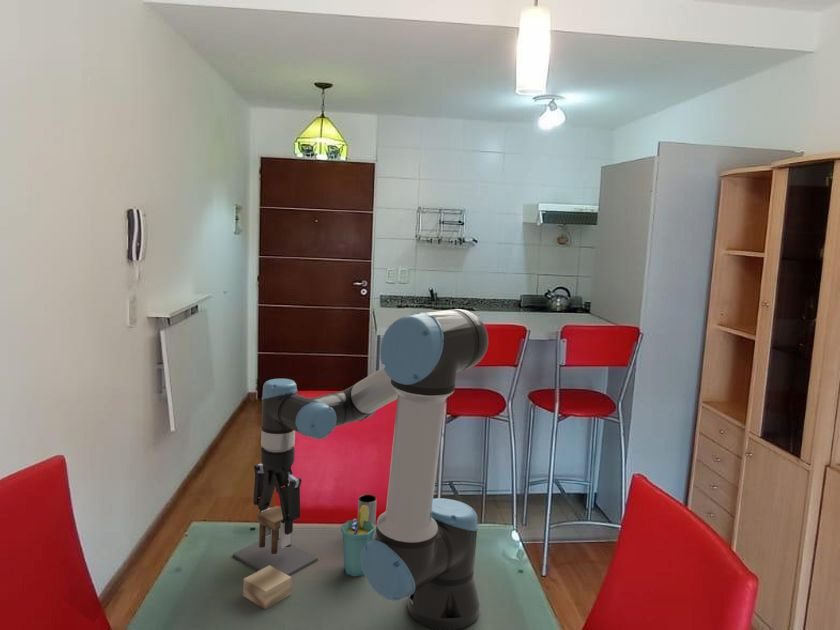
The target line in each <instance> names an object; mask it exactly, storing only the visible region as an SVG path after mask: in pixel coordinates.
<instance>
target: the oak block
mask: <svg viewBox="0 0 840 630" xmlns="http://www.w3.org/2000/svg"><path fill="white" fill-rule="evenodd" d="M242 590H243V591H242V592H243V593H242V594H243V595H242V596H243V597H244V598H246V599H248V600H249V601H251V602H253V603H254V604H255V605H257V606H259V607H261V608H262V609H264V610H267V609H268V608H271V607H272V606H274V605H275V604H277V603H279V602H281V601H283V600H284V599H286V598H287V597H289V596H291V595H292V576H291V575H290V576H288V575H287V574H285V573H283V572H281V571H279V570H277V569H276V568H274V567H272V566H270V565H269V566H267V567H265V568H263V569H261V570H257V571H256V572H253V573H252V574H250V575H248V576H246V577H244V578H243V589H242Z"/></svg>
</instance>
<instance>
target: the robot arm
mask: <svg viewBox="0 0 840 630" xmlns="http://www.w3.org/2000/svg"><path fill="white" fill-rule="evenodd" d="M488 347H489V334H488V331H487V328H486V326H485V324H484V322H483V321H482V320H481V318H479V317H478V316H477V315H475V314H474V313H473V312H472V311H471V312H470V311H468V310H466V309H461V308H454V309H452V308H451V309H447V310H439V311H438V310H437V311H429V312H414V313H412V314H409V315H406V316H405V315H404V316H402V317H399V318H397V319H396V320H394V321H393V322H392V323H390V325H389V326H388V328H387V329H386V331H385V332H384V335H383V337H382V339H381V343H380V350H379V353H380V354H379V355H380V361H381V364H382V365H384V366H382V367H380V369H378V370H376V371H375V372H373V373H371V374H369V375H368V376H366V377H364V378H363V379H361V380H359V381H358V382H356V383H355V384H353V385H352V386H350V387H347V388H346V389H344V390H341V391H337V392H333V393H329V394H328V393H327V394H325V395H320V396H315V397H306V396H303V395H300V394H298V388H297V383H296V381H295V380H293V379H290V378H273V379H269V380H266V381H265V382H264V383H263V386H262V396H261V435H260V437H261V438H260V445H261V448H260V463H258V464H256V465H254V466H253V471H254V484H253V485H254V486H253V499H252V501H253V505H255V506H257V508H258V510H259V513H261V512H263V511H266V510H268V509H270V508H271V506H272V503H271V501H272V498H273V495H274V492H275V491H276V493H277V494H278V497H279V504H280V505H279V506H280V507H281V510H282V516H283V520H281V521H280V529H279V538H280V548H283V547H285V546H287V545H289V544H292V533H293V531H294V528H293V527H294V522H295V521H296V520H297V521H298V520H299V519H300V518H301V485H302V482H303V481H302V478H301V477H297V478H296V477H295V476H294V475H293V474H294V473H293V470H292V466H293V464H294V462H295V449H296V448H295V447H294V446H295V445H296V444H295V443H296V441H295V440H296V432H297V433H299V434H302V436H304V437H308V438H312V439H315V440H324V439H325V438H327V437H329V435H330V434H331V433H332V432H333V431H334V430H335V428H337V427H341V426H343V425H348V424H350V423H355V422H362V421H363V420H366V419H368V418H370V417H372V416H373V415H375V413H376V411H377V410H379V409H381V408H383V407H385V406H387V405H388V404H391V403H392V402H394V401H396V400H397V401H396V410H395V419H394V428H393V430H394V431H393V439H392V449H391V457H390V458H391V459H390V467H389V468H390V469H389V478H388V488H387V495H386V496H387V497H386V505H385V506H386V508H385V511H384V512H382V513H381V514H380V515H379V516H378V517H377V520H376V524H375V537H374V538H373V539H372V540H370V541H369V542H367V544H366V545H365V546H364V547H363V549H362V551H361V566H362V569H363V572H364V575H363V576H364V577H365V579H366V580H367V582H368V584H369V585H370V587H371V589H373V590H374V591H375V592H376V593H377V594H378V595H380V596H381V597H382V598H384V599H386V600H389V601H393V602H395V601H400V600H401V599H404V598H406V597H407V612H408V613H409V615H410V616H411V618H412V619H413V620H415V622H417V623H419V624H421V625H422V626H424V627H426V628H429V629H433V630H462V629H464V628H467V627H470V626H471V625H472V624H474V622H476V621H477V620H478V618H479V614H480V607H481V606H480V604H481V603H480V596H479V595H478V590H477V586H476V583H475V582H476V581H475V578H474V573H475V572H474V571H475V563H476V562H475V560H476V547H477V546H476V545H477V537H478V535H477V534H478V530H479V527H478V515H477V512H476V511H475V509H474V507H473V508H472V507H471V506H470V505H469V504H466V503H464V502H462V501H459V500H455V499H451V498H443V497H442V498H441V497H437V498H436V497H435V498H434V494H435V488H436V478H437V469H438V462H439V453H440V446H441V436H442V435H441V434H442V428H443V420H444V410H445V402H446V399H447V398H448V397H450V396H451V395H453V394H454V393H455V389H456V379H457V373H459V372H461V371H466V370H468V369H470V368H473V367H475V366H476V365H478V363H480V362H481V361H482V360H483V359H484V357H485V355H486V353H487V351H488ZM288 514H289V515H288ZM293 521H294V522H293ZM271 535H272V529H270V528H268V527H266V535H265V538H267V537H269V536H271Z"/></svg>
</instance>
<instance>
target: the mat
mask: <svg viewBox="0 0 840 630" xmlns="http://www.w3.org/2000/svg"><path fill="white" fill-rule="evenodd" d="M271 540H272V534H270V535H268V536H266V537H265V547H263V548H261V547H259V540H258V541H257V542H254V543H251V544H250V545H248V546H245V547H244V548H242V549H239V550H238V551H236V552H233V553H232V557H234V558H235V559H237V560H239V561H241V562H242V563H244V564H246V565H249V566H250V567H252V568H254V569H255V570H257V571H259V570H261V569H263V568H265V567H267V566H269V565H270V566H272V567H274V568H276V569H277V570H279V571H281V572H283V573H285V574H287V575H288V576H290V577H291V576H292V575H294V574H296V573H297V572H299V571H301V570H302V569H304V568H306V567H308V566H310V565H312V564H313V563H315V562H317V561H318V560H319V557H317V556H315V555H314V554H312V553H309V552H308V551H306V550H303V549H302V548H299V547H298V546H296V545H294V544H292V543H291V546H290V547H286V546H285V547H283V548H280V537H279V540H278V549H277V553H276V554H272V553H271Z"/></svg>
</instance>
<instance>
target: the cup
mask: <svg viewBox="0 0 840 630" xmlns="http://www.w3.org/2000/svg"><path fill="white" fill-rule="evenodd" d="M368 518H369V508H368V506H366V505H362V507H361V509H360V511H359V514H358V513H357V518H353V519H350V520H347V521H346V522H345V523H343V524H342V525H341V526H340V529H341V533H342V543H343V560H344V561H343V567H344V571H345V574H346V575H349V576H352V577H359V576H360V577H361V576H365V575H364V572H363V569H362V566H361V551H362V549H363V547H364V546H365V545H366V544H367V542H369V541H370V540H373V539H372V536H373V534H374V531H375V532H376V528H375V529H374V527H373V525H372V523H371V522H368Z"/></svg>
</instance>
